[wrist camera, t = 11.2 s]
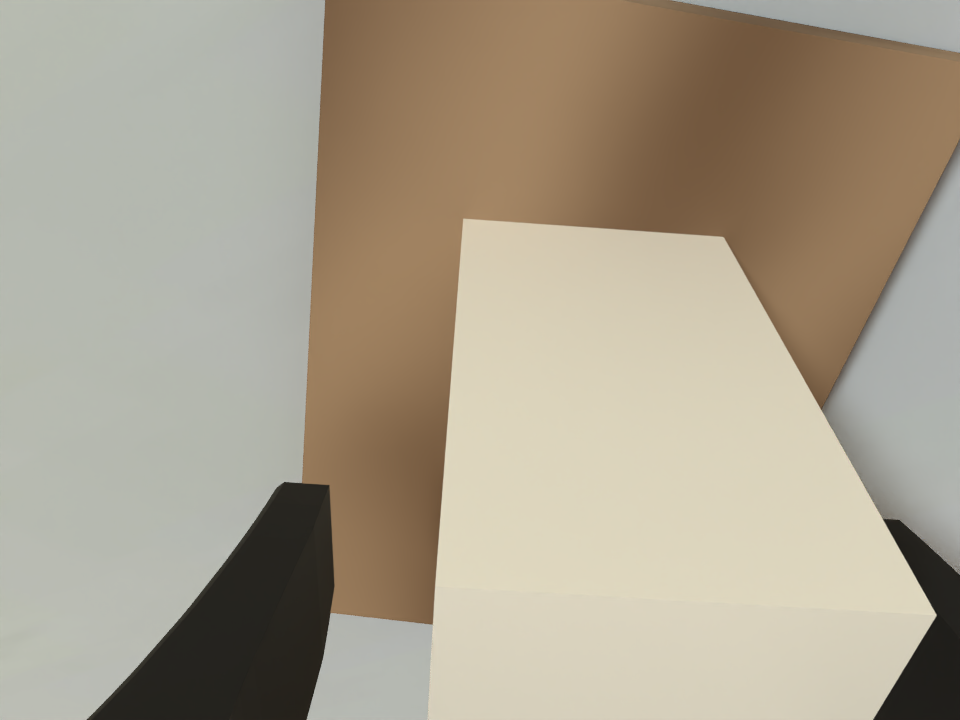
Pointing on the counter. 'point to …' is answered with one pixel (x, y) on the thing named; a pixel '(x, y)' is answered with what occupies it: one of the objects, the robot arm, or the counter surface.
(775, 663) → the plug
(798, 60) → the walnut board
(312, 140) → the counter surface
